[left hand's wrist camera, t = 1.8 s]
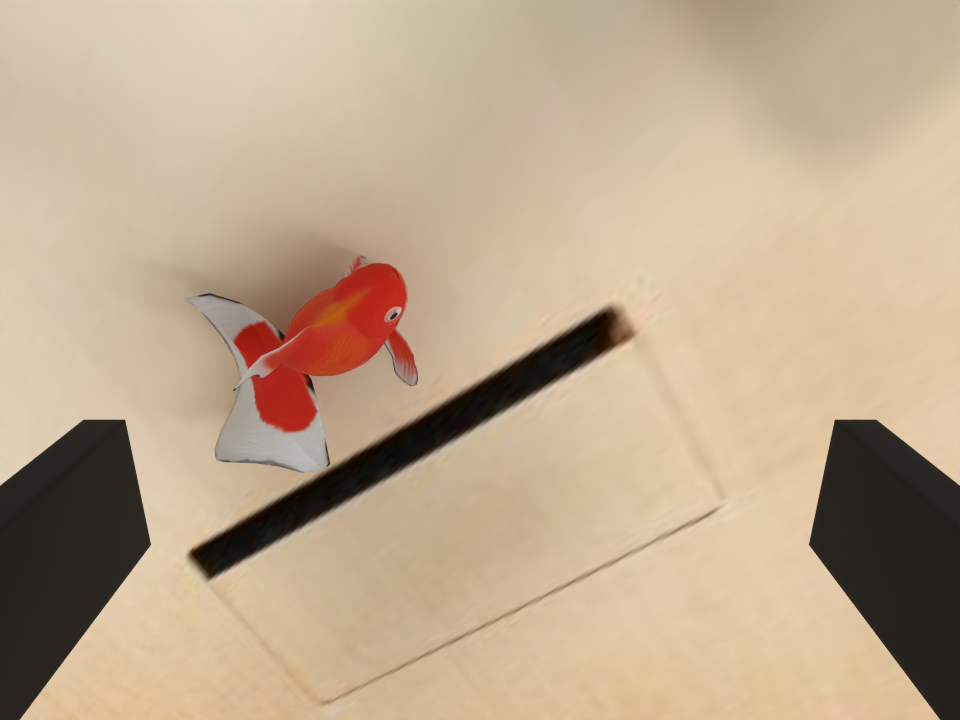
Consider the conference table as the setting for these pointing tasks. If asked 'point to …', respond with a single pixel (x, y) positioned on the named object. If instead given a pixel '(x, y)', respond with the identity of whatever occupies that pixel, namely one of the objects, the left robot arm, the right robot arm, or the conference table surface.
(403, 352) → the fish
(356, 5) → the conference table surface
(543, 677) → the conference table surface
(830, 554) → the left robot arm
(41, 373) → the conference table surface
